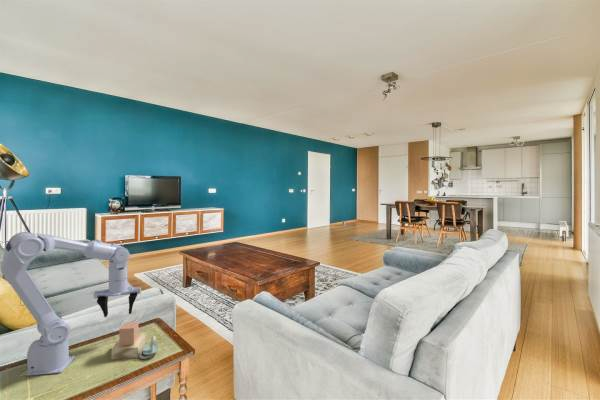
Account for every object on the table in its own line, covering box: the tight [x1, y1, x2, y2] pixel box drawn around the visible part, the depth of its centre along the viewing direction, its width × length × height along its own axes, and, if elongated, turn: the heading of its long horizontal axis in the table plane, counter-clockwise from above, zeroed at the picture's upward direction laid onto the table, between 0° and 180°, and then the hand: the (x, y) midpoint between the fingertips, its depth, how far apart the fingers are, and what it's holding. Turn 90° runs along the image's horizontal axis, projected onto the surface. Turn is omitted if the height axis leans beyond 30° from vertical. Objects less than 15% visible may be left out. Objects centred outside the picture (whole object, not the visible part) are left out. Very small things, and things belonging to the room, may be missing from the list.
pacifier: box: [138, 335, 159, 360], centre depth 99 cm, size 7×6×6 cm
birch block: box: [111, 334, 146, 360], centre depth 100 cm, size 8×8×4 cm
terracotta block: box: [118, 321, 139, 346], centre depth 99 cm, size 4×4×6 cm
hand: (118, 314), depth 105 cm, fingers open, 7 cm apart
